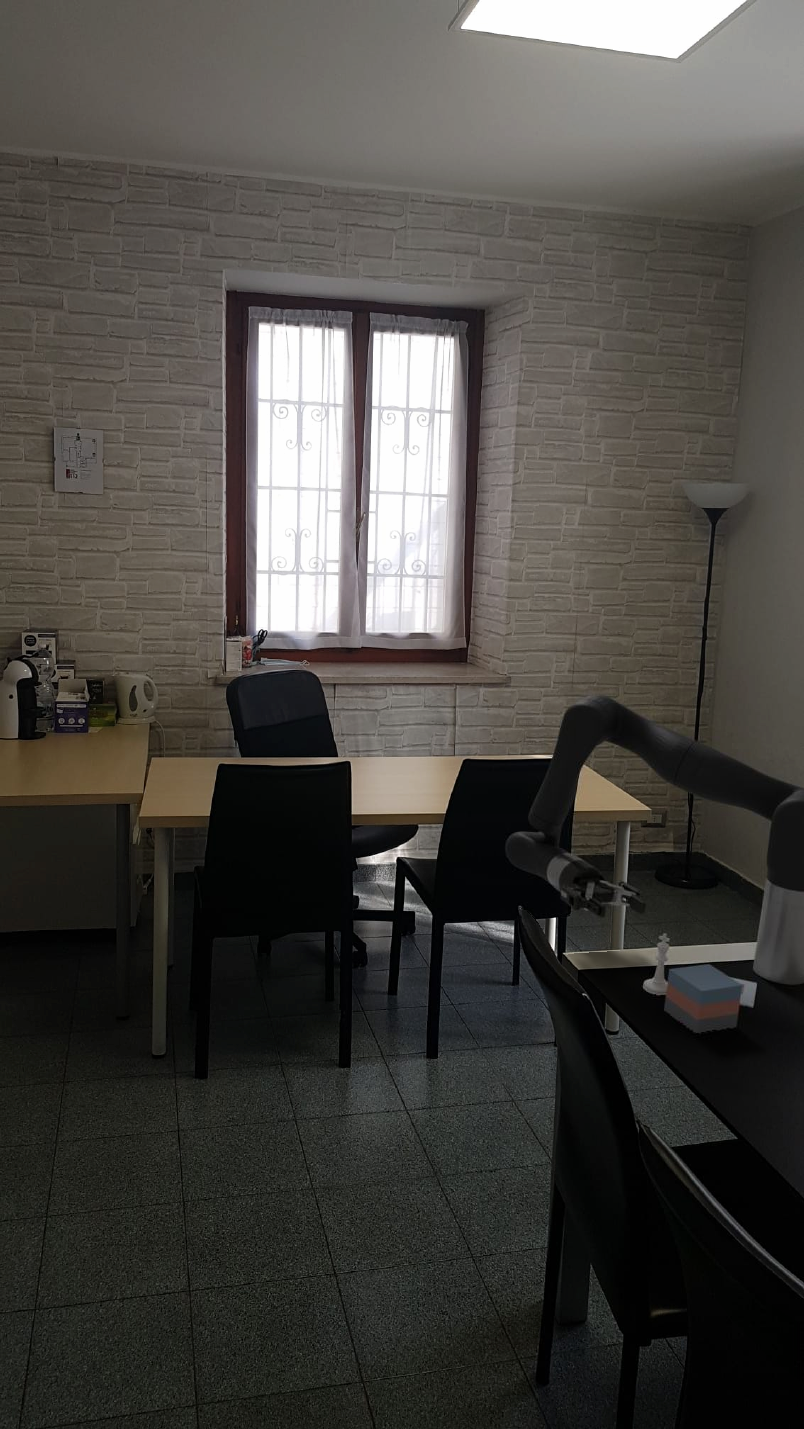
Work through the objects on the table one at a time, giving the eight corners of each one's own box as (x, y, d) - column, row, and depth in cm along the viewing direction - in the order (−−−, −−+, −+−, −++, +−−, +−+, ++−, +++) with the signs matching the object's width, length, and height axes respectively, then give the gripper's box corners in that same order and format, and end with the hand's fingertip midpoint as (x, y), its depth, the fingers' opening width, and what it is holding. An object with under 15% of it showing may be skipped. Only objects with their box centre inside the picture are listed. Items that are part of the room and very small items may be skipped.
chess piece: (665, 998, 178) (672, 942, 176) (637, 988, 181) (645, 933, 179) (677, 989, 182) (684, 934, 180) (650, 980, 185) (657, 925, 183)
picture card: (715, 975, 188) (715, 973, 188) (756, 984, 186) (757, 982, 186) (709, 998, 179) (710, 995, 179) (753, 1008, 177) (753, 1005, 177)
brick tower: (663, 1010, 173) (669, 969, 172) (703, 1004, 177) (709, 964, 175) (695, 1033, 166) (701, 991, 165) (736, 1027, 170) (742, 985, 168)
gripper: (544, 861, 200) (592, 893, 186) (608, 857, 206) (659, 888, 192) (540, 899, 202) (587, 933, 187) (603, 894, 208) (654, 927, 193)
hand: (624, 910), depth 190 cm, fingers open, 8 cm apart
